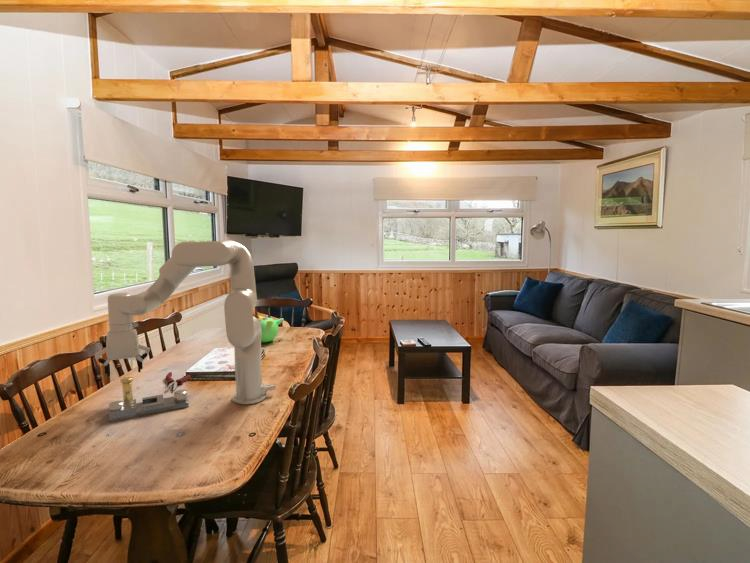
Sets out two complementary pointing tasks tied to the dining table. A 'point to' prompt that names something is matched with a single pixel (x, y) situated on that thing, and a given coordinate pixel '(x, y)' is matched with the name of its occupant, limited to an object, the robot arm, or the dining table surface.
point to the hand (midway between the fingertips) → (124, 373)
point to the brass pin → (127, 388)
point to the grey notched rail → (147, 406)
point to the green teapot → (269, 328)
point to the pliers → (174, 384)
